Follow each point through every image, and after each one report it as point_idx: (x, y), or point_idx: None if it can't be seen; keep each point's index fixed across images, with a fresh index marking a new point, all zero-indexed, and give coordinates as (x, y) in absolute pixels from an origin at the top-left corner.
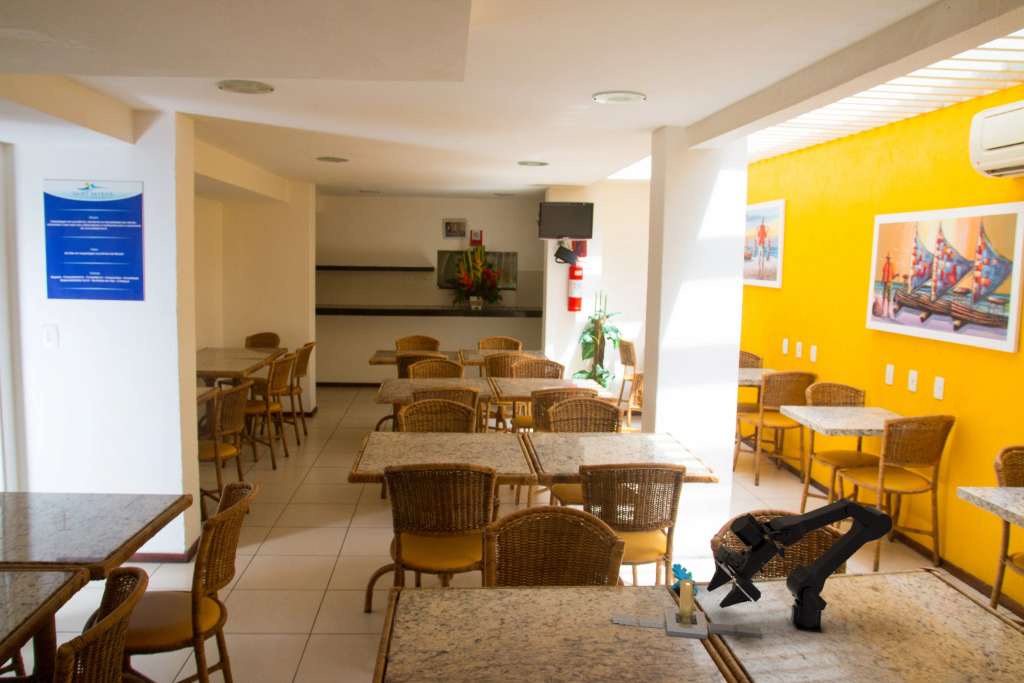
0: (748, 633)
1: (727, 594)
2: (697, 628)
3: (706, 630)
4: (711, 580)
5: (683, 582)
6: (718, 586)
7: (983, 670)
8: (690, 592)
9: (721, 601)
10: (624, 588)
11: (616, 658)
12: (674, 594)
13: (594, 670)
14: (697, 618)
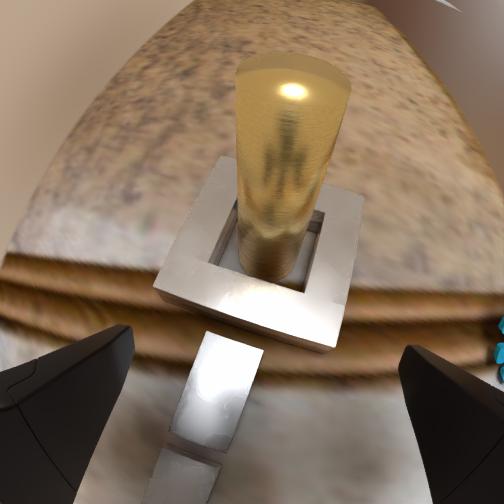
0: (149, 482)
1: (60, 373)
2: (178, 249)
3: (155, 282)
4: (466, 375)
5: (288, 59)
6: (421, 439)
7: None
8: (236, 122)
9: (115, 336)
10: (488, 181)
11: (156, 78)
12: (498, 305)
13: (138, 59)
14: (270, 288)
